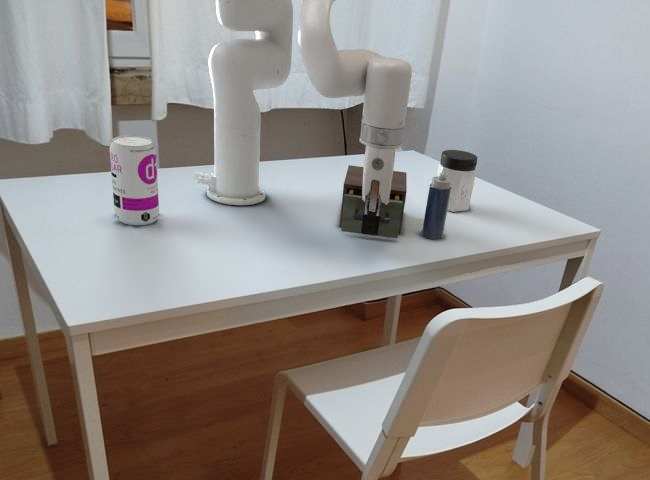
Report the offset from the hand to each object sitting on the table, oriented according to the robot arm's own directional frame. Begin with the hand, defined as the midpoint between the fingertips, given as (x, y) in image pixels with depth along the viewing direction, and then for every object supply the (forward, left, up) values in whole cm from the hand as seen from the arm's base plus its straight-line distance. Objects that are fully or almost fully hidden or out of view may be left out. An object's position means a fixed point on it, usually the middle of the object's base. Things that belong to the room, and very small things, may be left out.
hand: (369, 233), depth 127 cm
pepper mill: (+13, +13, -4) cm, 18 cm away
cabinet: (0, +18, -4) cm, 18 cm away
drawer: (0, +10, -3) cm, 11 cm away
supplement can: (-45, +2, -4) cm, 45 cm away
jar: (+18, +34, -4) cm, 38 cm away
